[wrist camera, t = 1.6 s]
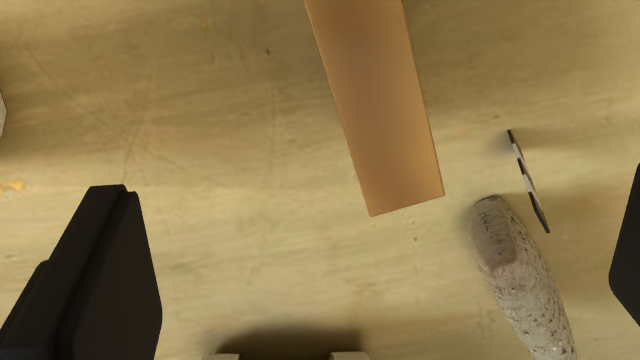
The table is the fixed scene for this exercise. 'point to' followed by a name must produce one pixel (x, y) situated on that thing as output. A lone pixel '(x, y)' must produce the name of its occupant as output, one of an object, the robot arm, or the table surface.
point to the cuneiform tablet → (520, 274)
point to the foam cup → (2, 114)
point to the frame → (378, 100)
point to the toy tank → (335, 358)
